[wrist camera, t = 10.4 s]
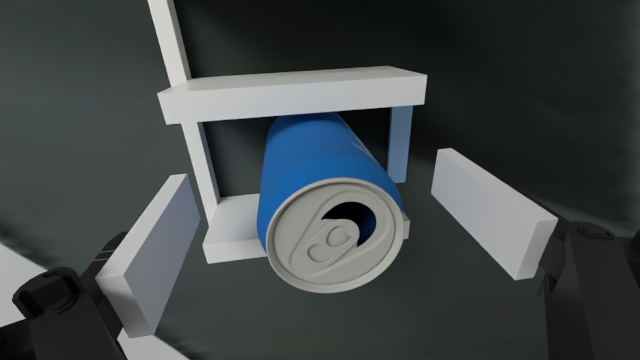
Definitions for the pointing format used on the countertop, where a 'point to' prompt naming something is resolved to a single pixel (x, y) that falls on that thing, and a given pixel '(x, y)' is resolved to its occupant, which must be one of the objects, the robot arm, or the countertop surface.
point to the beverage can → (326, 205)
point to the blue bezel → (398, 142)
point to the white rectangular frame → (259, 101)
